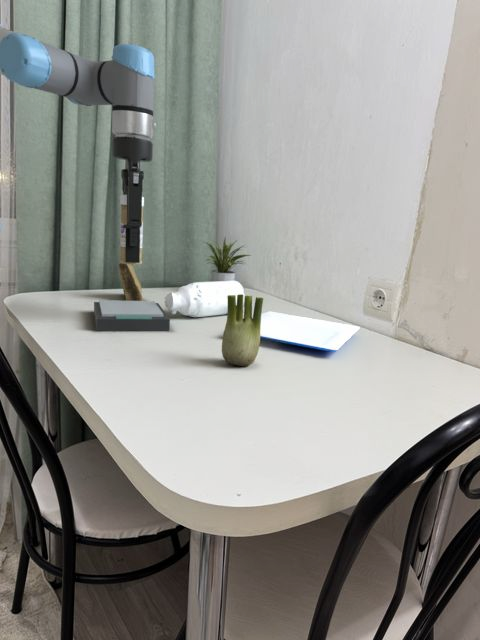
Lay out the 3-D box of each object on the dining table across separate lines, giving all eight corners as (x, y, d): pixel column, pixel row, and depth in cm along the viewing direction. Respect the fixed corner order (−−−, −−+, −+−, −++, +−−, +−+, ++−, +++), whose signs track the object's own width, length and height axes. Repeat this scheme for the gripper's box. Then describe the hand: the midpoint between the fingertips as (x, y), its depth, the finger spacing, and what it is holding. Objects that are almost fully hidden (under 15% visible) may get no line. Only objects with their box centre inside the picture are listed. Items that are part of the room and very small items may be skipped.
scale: (93, 312, 112) (93, 299, 111) (157, 313, 117) (158, 300, 116) (96, 331, 97) (96, 315, 97) (169, 330, 102) (170, 316, 101)
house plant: (214, 299, 139) (218, 238, 134) (186, 289, 149) (189, 233, 144) (253, 296, 148) (258, 239, 144) (224, 287, 158) (228, 234, 153)
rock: (115, 284, 134) (100, 284, 125) (136, 260, 133) (122, 258, 123) (145, 312, 135) (132, 314, 125) (166, 288, 133) (154, 289, 123)
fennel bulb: (259, 363, 87) (266, 294, 83) (250, 371, 82) (256, 299, 79) (228, 357, 88) (233, 289, 85) (217, 365, 84) (222, 293, 81)
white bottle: (158, 315, 114) (159, 280, 112) (223, 309, 127) (225, 277, 125) (177, 323, 109) (179, 287, 106) (244, 316, 121) (246, 283, 119)
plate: (359, 335, 113) (360, 326, 113) (335, 359, 93) (337, 349, 92) (266, 319, 121) (267, 310, 120) (226, 338, 100) (226, 328, 100)
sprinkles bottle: (114, 262, 103) (115, 193, 99) (132, 261, 107) (133, 195, 103) (130, 265, 101) (131, 195, 97) (147, 264, 104) (149, 196, 101)
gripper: (159, 136, 90) (155, 267, 97) (146, 144, 106) (144, 256, 113) (115, 131, 88) (115, 265, 94) (109, 139, 104) (109, 254, 110)
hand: (131, 260), depth 103 cm, fingers closed on sprinkles bottle, 4 cm apart
